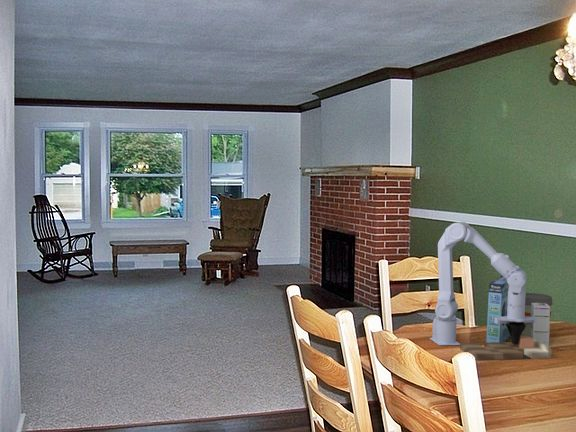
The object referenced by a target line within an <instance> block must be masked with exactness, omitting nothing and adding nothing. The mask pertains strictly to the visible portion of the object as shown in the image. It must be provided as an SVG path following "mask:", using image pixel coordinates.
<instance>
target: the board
mask: <svg viewBox="0 0 576 432" xmlns="http://www.w3.org/2000/svg"><path fill="white" fill-rule="evenodd" d="M459 343H460V345H459V349H460V350H461V351H462V352H463V353H465V352H469V353H471V354H473V355H474V356H475V358H476V359H475V360H476V361H504V360H505V361H506V360H510V361H511V360H541V359H542V360H543V359H552V347H550V346H546V345H544V344H542V343H540V342H538V341H536V340H534V348H520V347H519V346H517V345H514V344H512V342H511V341H505V342H487V343H486V342H484V344H483V346H482V345H480V343H477V342H459Z"/></svg>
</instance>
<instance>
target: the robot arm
mask: <svg viewBox="0 0 576 432" xmlns="http://www.w3.org/2000/svg"><path fill="white" fill-rule="evenodd" d="M460 241H463V242H464V243H468V244H473V245H475V247H476V248H477V249H478V250H479V251H481V252H482V253H483V254H484V255H485V256H486V257H487V258H488V259H490V266H492V267H493V268H494V269H495V270H496V271H497V272H498V273H499V274H500V276H503V277H504V278H507V282H508V284H509V291H508V304H507V316H503V317H495V319H494V323H496V324H500V323H505V324H506V326H507V328H508V331H509V333H510V337H509V338H510V342H512V344H514V345H518V342H519V339H520V336H522V332H523V330H524V329H525V327H526V325H525V324H524V323H537V318H536V317H529V316H525V296H526V293H527V292H526V289H527V287H526V283H527V280H528V277H527V274H526V272H525V270H523V269H522V268H521V267H520V266H519V265H516V264H515V263H514V262H513V261H512V260H511V259H510V256H509V254H505V253H503V252H497V251H496V250H495V249H494V247H492V245H491V244H490V243H489V242H488V241H487V240H486V239H485V238H484V237H483V236H482V235H481V234H480V233H479V232H478V231H477V230H476V229H475V228H474V227H472V226H470V225H469V223H467V222H465V221H464V220H463V221H457V222H454V223H451V224H450V225H449V226H447V227H446V228H445V230H444V232H443V233H442V236H441V237H440V239H439V240H438V242H437V261H438V263H437V266H438V267H437V269H438V295H437V301H436V305H435V309H434V312H435V315H436V316H435V317H434V319H433V320H432V332H431V333H432V336H431V337H429V339H430V340H431V341H432V342H433V343H435V344H436V345H438V346H460V343H461V342H458V341H457V321H458V320H457V315H456V313H457V311H458V310H459V309H458V308H459V306H458V302H457V300H456V295H455V292H454V273H453V272H454V271H453V269H454V268H453V267H454V265H453V264H454V263H453V262H454V261H453V248H454V247H455V246H456V245H457V244H458V243H459V242H460Z"/></svg>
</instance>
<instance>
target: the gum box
mask: <svg viewBox="0 0 576 432" xmlns="http://www.w3.org/2000/svg"><path fill="white" fill-rule="evenodd" d="M508 291H509V284H508V282H507V278H504V277H503V276H502V275H500V276H498V277H497V278H495V279H493V280H492V281H490V282H489V283H488V300H487V301H488V302H487V303H488V305H487V321H486V341H485V343H487V342H507V340H509V338H511V337H510V333H509V331H508V328H507V326H506V324H505V323H500V324H496V323H494V319H495V317H503V316H507V304H508Z"/></svg>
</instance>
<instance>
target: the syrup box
mask: <svg viewBox="0 0 576 432" xmlns="http://www.w3.org/2000/svg"><path fill="white" fill-rule="evenodd" d="M550 311H551V310H550V306H549V305H548V304H546V303H531V317H536V318H537V323H531V332H530V337H531V338H533V339H534V340H536V341H538V342H540V343H542V344H544V345H546V346H548V347H550V330H551V329H550V326H551V325H550V323H551V317H550Z"/></svg>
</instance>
